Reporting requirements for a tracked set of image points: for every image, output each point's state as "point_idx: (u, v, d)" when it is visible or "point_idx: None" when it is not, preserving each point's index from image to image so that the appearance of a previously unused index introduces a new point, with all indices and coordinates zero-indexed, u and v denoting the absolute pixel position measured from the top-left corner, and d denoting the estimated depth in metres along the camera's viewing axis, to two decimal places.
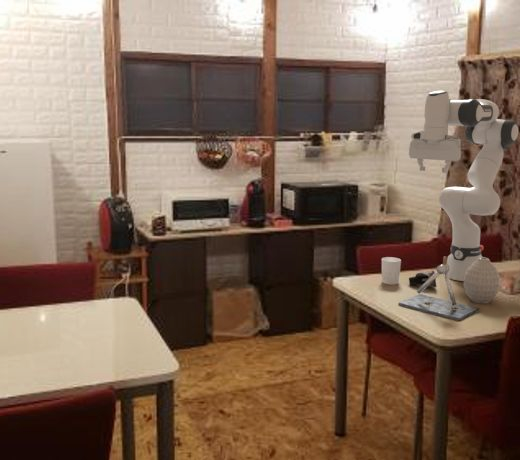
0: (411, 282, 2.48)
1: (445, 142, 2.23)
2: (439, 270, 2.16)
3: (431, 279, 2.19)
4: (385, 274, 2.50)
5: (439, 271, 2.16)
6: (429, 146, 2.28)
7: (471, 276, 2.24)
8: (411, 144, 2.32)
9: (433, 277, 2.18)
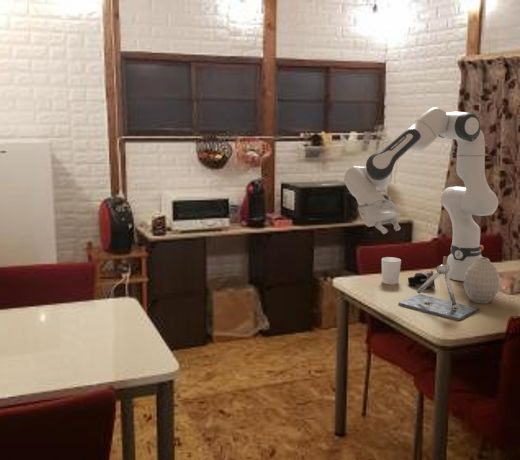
0: (410, 282, 2.48)
1: None
2: (439, 270, 2.16)
3: (431, 279, 2.19)
4: (385, 274, 2.50)
5: (439, 271, 2.16)
6: None
7: (471, 276, 2.24)
8: None
9: (433, 277, 2.18)
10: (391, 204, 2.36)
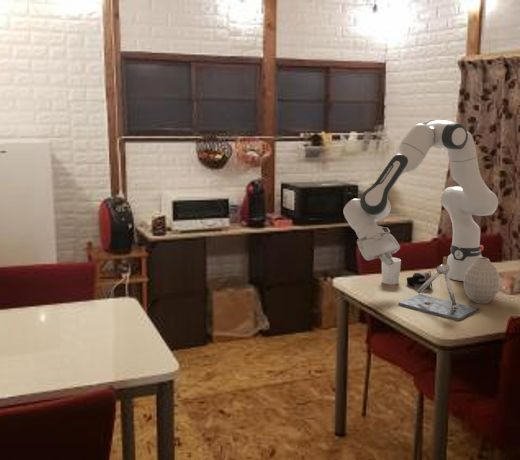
0: (408, 282, 2.48)
1: None
2: (439, 270, 2.16)
3: (431, 279, 2.19)
4: (385, 274, 2.50)
5: (439, 271, 2.16)
6: None
7: (471, 276, 2.24)
8: None
9: (433, 277, 2.18)
10: (390, 236, 2.39)
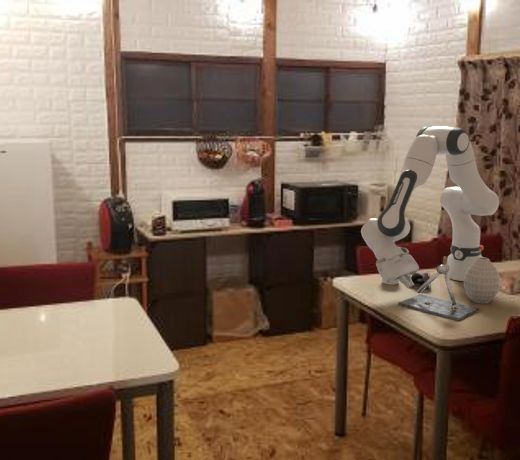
0: None
1: None
2: (439, 270, 2.16)
3: (431, 279, 2.19)
4: None
5: (439, 271, 2.16)
6: None
7: (471, 276, 2.24)
8: None
9: (433, 277, 2.18)
10: (409, 257, 2.34)
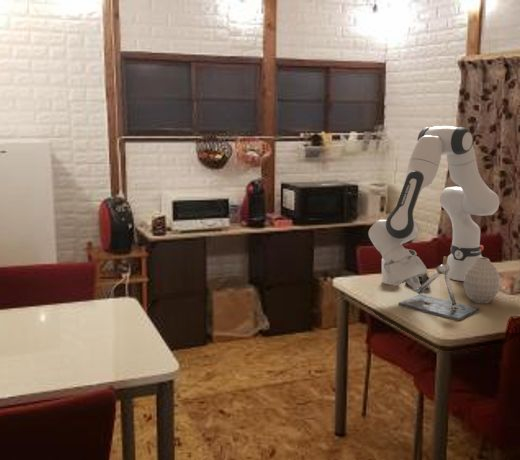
0: (406, 282, 2.48)
1: None
2: (439, 270, 2.16)
3: (431, 279, 2.19)
4: (385, 274, 2.50)
5: (439, 271, 2.16)
6: None
7: (471, 276, 2.24)
8: None
9: (433, 277, 2.18)
10: (417, 259, 2.32)
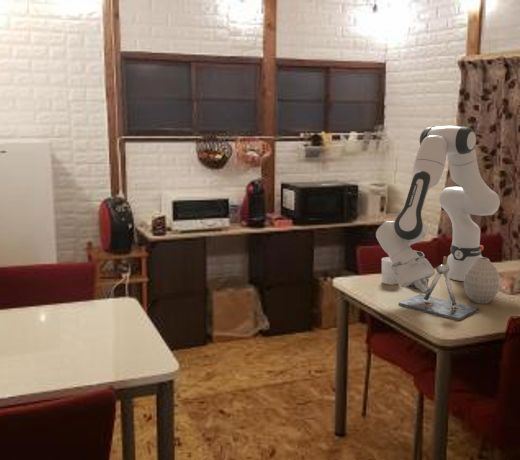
0: None
1: None
2: (439, 270, 2.16)
3: (434, 282, 2.18)
4: (385, 274, 2.50)
5: (440, 271, 2.16)
6: None
7: (471, 276, 2.24)
8: None
9: (435, 279, 2.18)
10: (425, 261, 2.29)
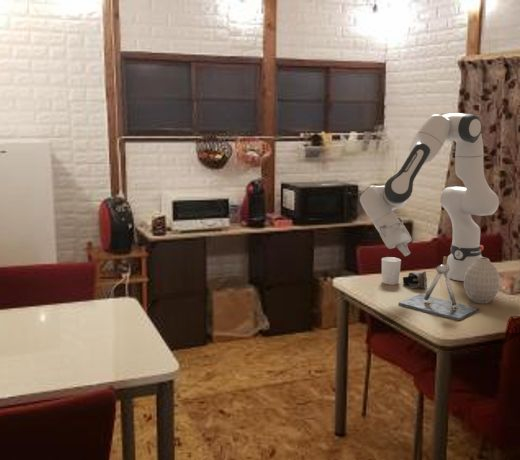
0: (403, 281, 2.49)
1: None
2: (439, 270, 2.16)
3: (434, 282, 2.18)
4: (385, 274, 2.50)
5: (440, 271, 2.16)
6: None
7: (471, 276, 2.24)
8: None
9: (436, 279, 2.18)
10: (403, 227, 2.36)
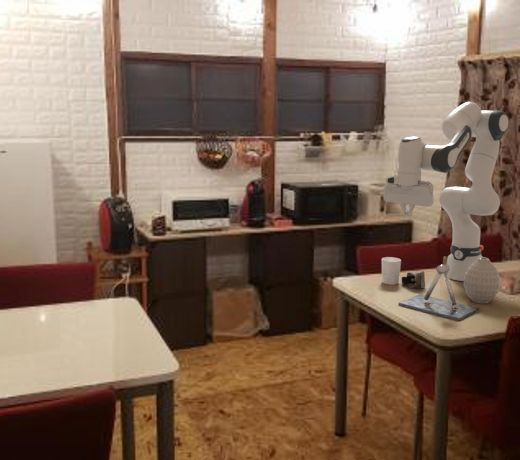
0: (402, 281, 2.49)
1: (418, 188, 2.25)
2: (439, 270, 2.16)
3: (434, 282, 2.18)
4: (385, 274, 2.50)
5: (440, 271, 2.16)
6: (402, 190, 2.31)
7: (471, 276, 2.24)
8: (385, 188, 2.35)
9: (436, 279, 2.18)
10: None
